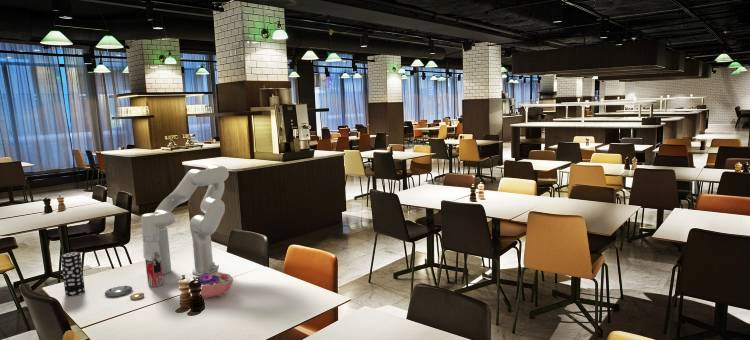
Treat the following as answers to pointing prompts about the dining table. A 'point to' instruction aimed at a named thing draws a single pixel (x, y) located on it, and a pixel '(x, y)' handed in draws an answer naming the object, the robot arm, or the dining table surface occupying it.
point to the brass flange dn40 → (137, 296)
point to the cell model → (215, 284)
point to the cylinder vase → (164, 250)
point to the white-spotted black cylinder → (72, 273)
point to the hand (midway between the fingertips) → (153, 270)
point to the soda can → (153, 275)
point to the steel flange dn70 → (118, 291)
